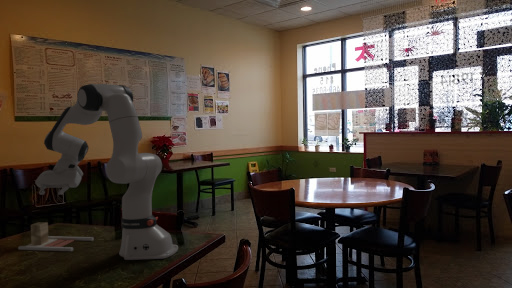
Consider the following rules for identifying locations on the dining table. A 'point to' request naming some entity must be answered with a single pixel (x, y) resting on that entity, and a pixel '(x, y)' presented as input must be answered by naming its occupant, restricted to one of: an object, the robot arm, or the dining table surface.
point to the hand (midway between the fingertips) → (50, 194)
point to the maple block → (39, 233)
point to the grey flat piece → (57, 242)
